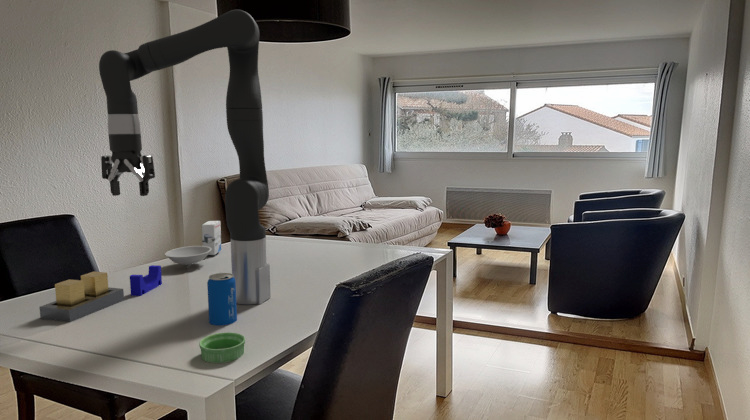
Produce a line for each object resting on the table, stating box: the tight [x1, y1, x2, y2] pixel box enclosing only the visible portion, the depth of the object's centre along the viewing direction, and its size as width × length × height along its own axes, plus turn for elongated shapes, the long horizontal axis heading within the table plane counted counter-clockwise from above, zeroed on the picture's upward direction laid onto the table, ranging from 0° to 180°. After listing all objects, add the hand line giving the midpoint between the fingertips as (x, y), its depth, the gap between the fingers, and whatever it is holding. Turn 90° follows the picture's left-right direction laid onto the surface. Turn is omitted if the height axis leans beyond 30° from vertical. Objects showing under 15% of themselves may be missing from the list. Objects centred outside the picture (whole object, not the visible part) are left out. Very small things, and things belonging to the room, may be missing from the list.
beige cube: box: [80, 271, 109, 297], centre depth 140 cm, size 4×4×8 cm
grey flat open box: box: [39, 286, 125, 323], centre depth 137 cm, size 9×18×4 cm, turn 164°
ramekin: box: [198, 331, 246, 364], centre depth 107 cm, size 9×9×4 cm
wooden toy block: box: [54, 279, 85, 307], centre depth 133 cm, size 4×4×8 cm
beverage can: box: [206, 272, 238, 327], centre depth 127 cm, size 6×6×12 cm
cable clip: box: [129, 265, 163, 297], centre depth 154 cm, size 12×4×6 cm, turn 175°
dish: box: [164, 245, 212, 267], centre depth 183 cm, size 18×14×5 cm
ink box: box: [201, 220, 222, 256], centre depth 201 cm, size 9×5×12 cm, turn 179°
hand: (130, 195), depth 137 cm, fingers open, 8 cm apart
